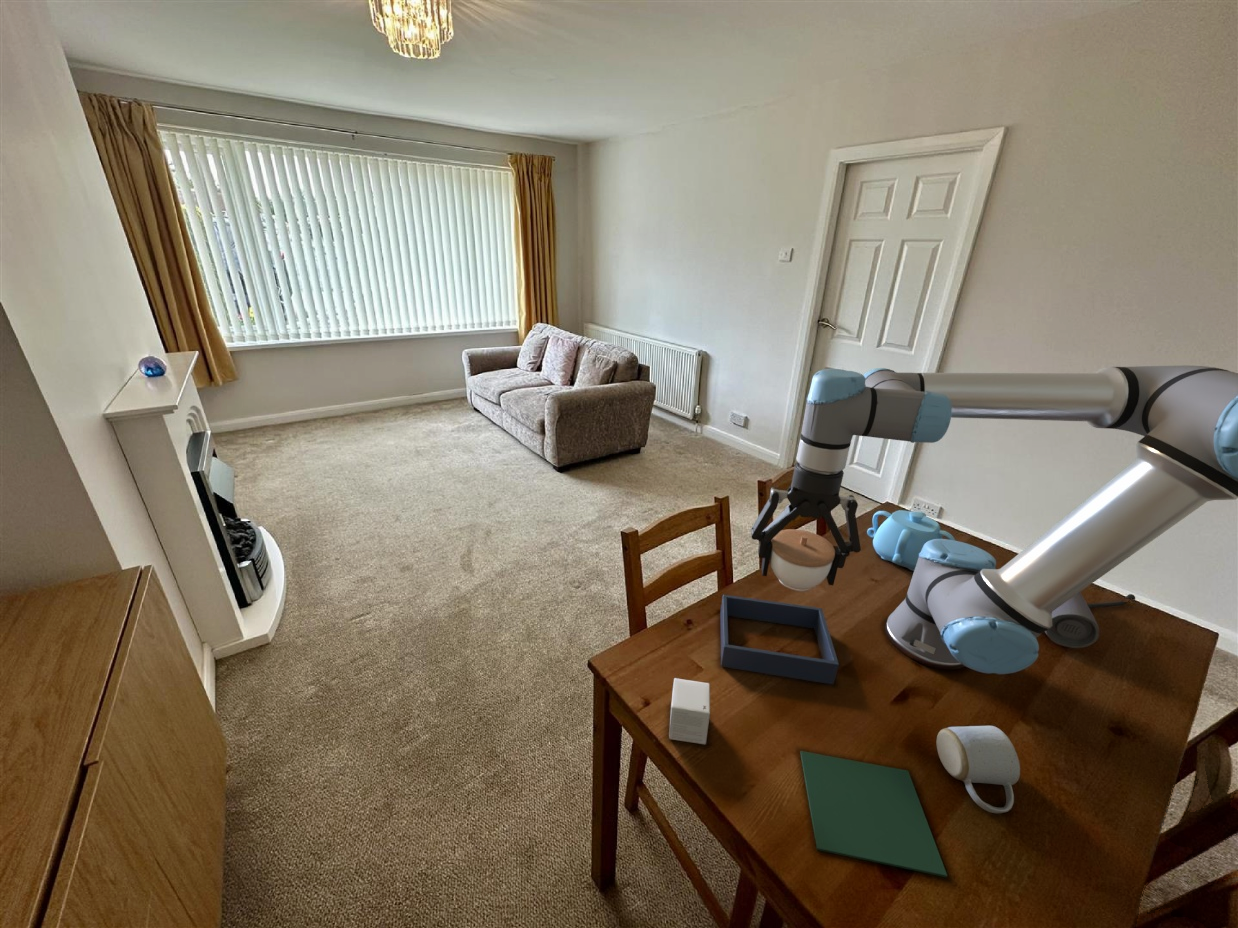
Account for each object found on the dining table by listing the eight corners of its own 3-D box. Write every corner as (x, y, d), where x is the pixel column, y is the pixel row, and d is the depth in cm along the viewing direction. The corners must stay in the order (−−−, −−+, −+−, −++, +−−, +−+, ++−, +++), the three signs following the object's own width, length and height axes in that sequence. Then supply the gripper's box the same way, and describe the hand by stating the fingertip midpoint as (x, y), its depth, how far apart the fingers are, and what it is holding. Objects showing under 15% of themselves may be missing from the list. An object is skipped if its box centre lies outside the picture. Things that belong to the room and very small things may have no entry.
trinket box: (831, 604, 82) (843, 558, 78) (766, 594, 84) (775, 548, 80) (821, 567, 92) (831, 525, 88) (763, 559, 94) (770, 517, 90)
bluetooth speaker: (1007, 583, 120) (1022, 549, 116) (1054, 594, 116) (1071, 560, 112) (1033, 643, 101) (1052, 605, 97) (1090, 659, 97) (1112, 620, 93)
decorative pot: (920, 544, 135) (934, 501, 130) (951, 578, 120) (968, 532, 115) (860, 539, 136) (872, 497, 131) (883, 573, 122) (897, 527, 116)
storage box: (817, 626, 103) (821, 608, 101) (833, 684, 89) (839, 664, 87) (720, 612, 107) (722, 594, 105) (721, 666, 92) (724, 646, 90)
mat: (907, 772, 74) (908, 770, 74) (946, 877, 62) (947, 875, 62) (800, 752, 77) (800, 750, 77) (816, 849, 64) (817, 847, 64)
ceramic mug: (927, 746, 78) (941, 713, 75) (976, 747, 78) (993, 715, 75) (969, 816, 69) (988, 782, 66) (1026, 817, 69) (1048, 784, 66)
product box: (706, 713, 83) (710, 682, 80) (706, 746, 77) (710, 714, 74) (670, 707, 84) (673, 676, 81) (668, 739, 78) (671, 707, 75)
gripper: (888, 464, 80) (859, 572, 89) (746, 450, 84) (731, 555, 93) (904, 483, 73) (870, 598, 82) (747, 467, 77) (731, 579, 86)
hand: (796, 576), depth 87 cm, fingers closed on trinket box, 11 cm apart
